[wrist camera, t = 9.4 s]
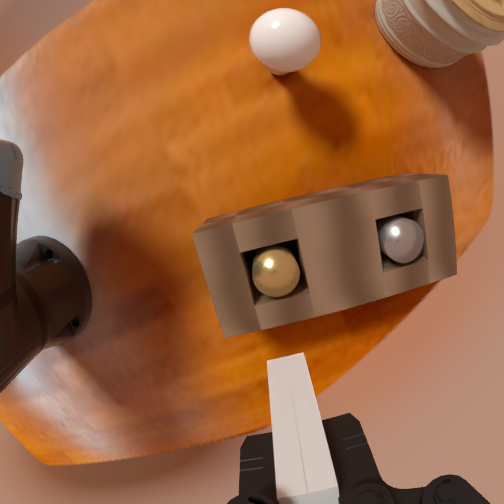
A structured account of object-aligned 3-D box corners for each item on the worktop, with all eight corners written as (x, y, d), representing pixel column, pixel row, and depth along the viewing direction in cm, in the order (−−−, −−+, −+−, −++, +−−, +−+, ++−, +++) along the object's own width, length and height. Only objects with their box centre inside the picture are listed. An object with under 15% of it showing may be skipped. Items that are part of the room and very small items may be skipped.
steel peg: (360, 249, 34) (387, 270, 27) (353, 211, 33) (380, 222, 26) (394, 240, 34) (427, 258, 26) (388, 203, 33) (422, 212, 25)
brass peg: (256, 275, 35) (257, 304, 27) (246, 237, 34) (244, 256, 26) (295, 265, 35) (306, 292, 27) (286, 227, 34) (296, 243, 26)
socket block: (230, 300, 37) (224, 338, 29) (207, 219, 35) (192, 234, 26) (418, 252, 36) (456, 274, 27) (406, 172, 34) (447, 175, 25)
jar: (364, -19, 27) (415, -96, 10) (445, 2, 27) (513, -48, 10) (379, 61, 30) (457, 0, 13) (462, 79, 30) (552, 49, 13)
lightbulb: (318, 74, 31) (343, 37, 20) (272, 102, 32) (281, 72, 21) (284, 34, 30) (295, -14, 19) (238, 60, 31) (232, 17, 20)
